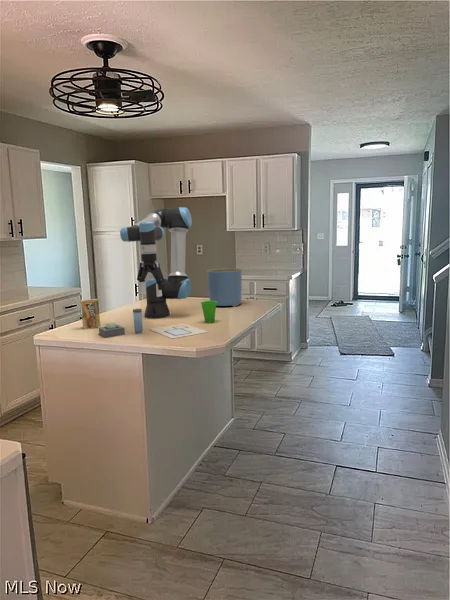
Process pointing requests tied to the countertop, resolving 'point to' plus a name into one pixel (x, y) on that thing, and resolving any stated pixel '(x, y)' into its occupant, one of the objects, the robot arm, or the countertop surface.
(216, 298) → the planter
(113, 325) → the button
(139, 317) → the blue bottle
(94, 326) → the candy box
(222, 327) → the countertop surface
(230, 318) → the countertop surface
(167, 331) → the picture sheet
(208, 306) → the cup
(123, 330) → the button housing
